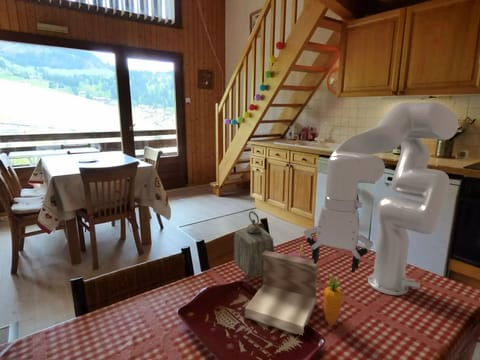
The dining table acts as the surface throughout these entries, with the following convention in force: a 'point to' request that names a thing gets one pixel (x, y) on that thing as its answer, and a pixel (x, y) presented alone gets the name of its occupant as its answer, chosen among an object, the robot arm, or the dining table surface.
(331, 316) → the carrot
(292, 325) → the shelf
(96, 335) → the dining table surface
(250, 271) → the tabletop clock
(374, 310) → the dining table surface
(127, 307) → the dining table surface
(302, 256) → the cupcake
